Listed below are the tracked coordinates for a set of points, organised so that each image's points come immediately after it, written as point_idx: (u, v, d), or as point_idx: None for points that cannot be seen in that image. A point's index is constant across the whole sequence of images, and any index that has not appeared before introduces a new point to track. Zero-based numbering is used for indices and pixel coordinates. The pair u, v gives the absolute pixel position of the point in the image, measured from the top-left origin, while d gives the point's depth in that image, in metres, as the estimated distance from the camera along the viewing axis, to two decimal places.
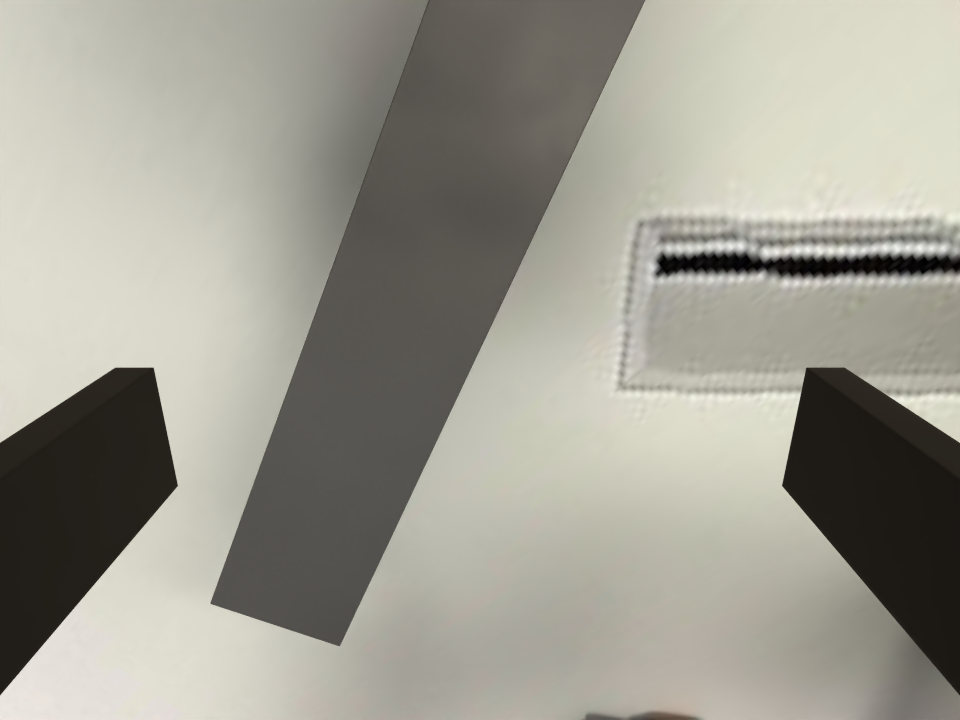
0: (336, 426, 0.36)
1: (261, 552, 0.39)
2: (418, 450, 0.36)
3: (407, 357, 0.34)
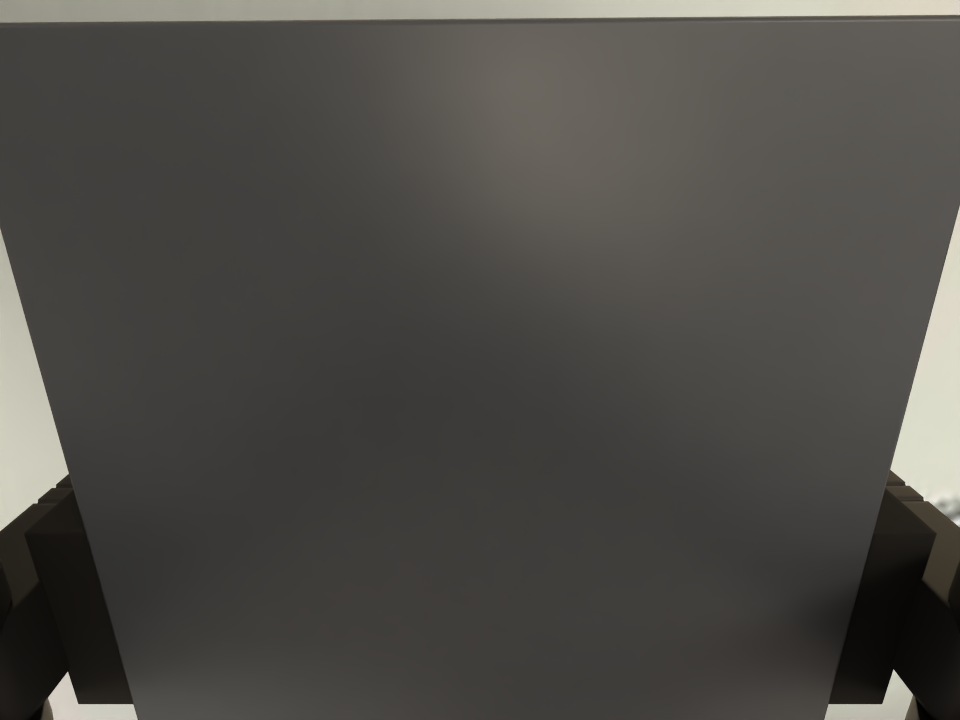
0: None
1: None
2: None
3: None
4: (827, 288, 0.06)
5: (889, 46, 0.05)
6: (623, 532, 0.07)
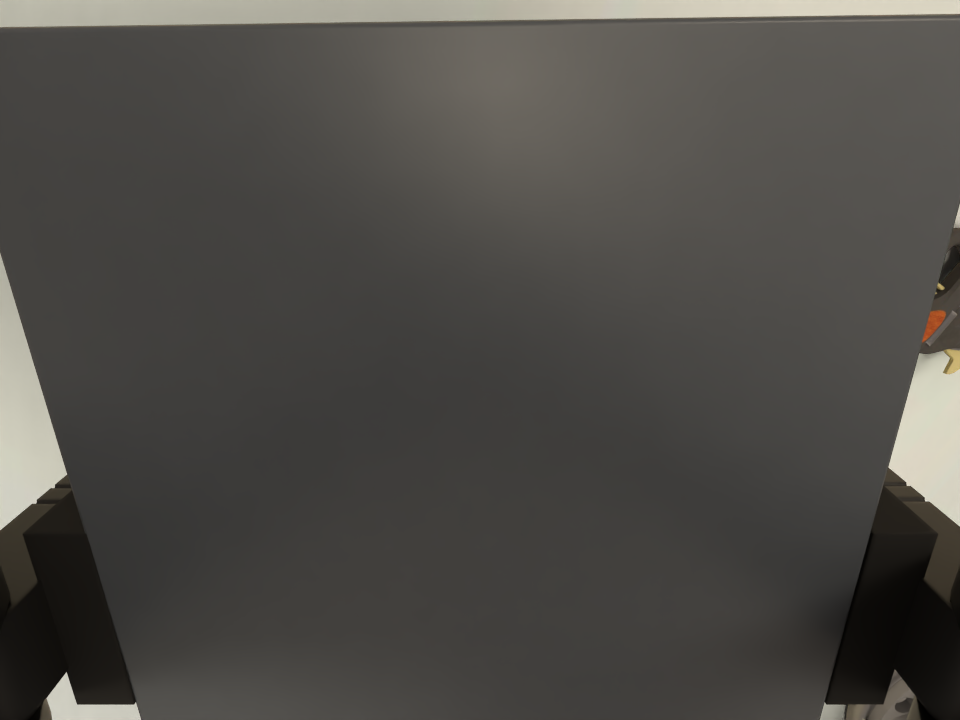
0: None
1: None
2: None
3: None
4: (825, 291, 0.06)
5: (888, 46, 0.05)
6: (620, 533, 0.07)
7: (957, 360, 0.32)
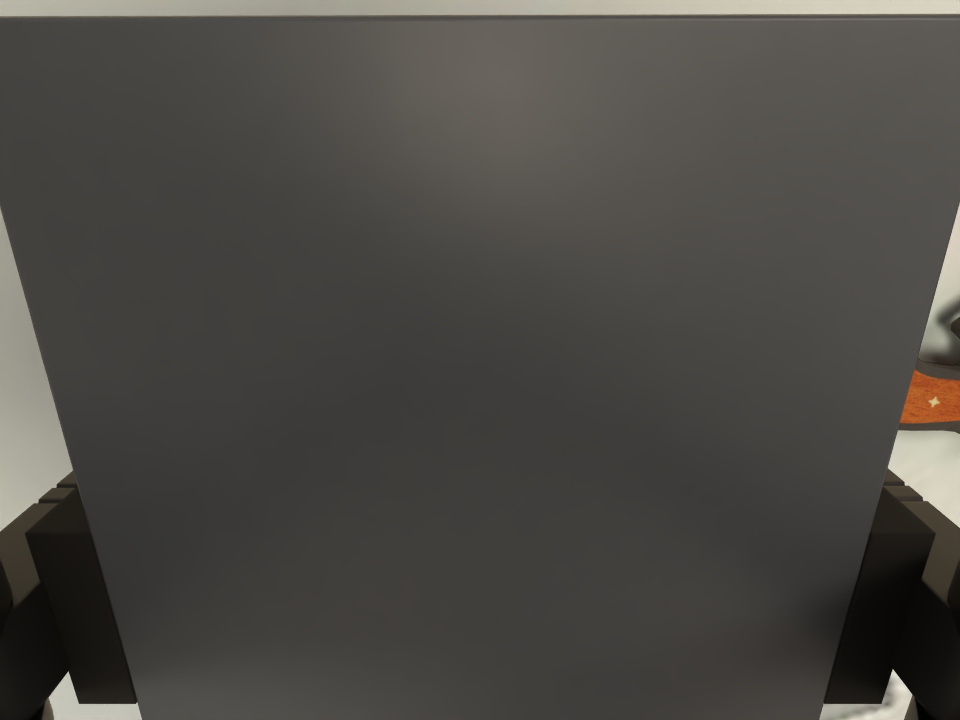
0: None
1: None
2: None
3: None
4: (829, 284, 0.06)
5: (891, 44, 0.05)
6: (623, 526, 0.07)
7: None
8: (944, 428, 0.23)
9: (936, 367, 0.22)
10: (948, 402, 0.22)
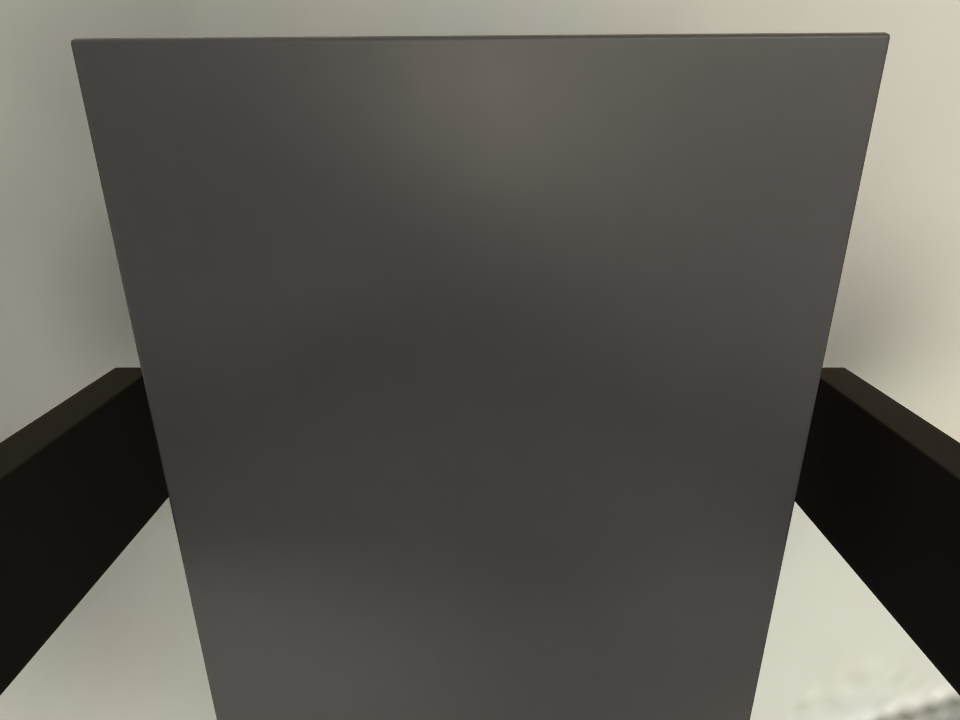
0: None
1: None
2: None
3: None
4: (759, 247, 0.07)
5: (799, 56, 0.07)
6: (599, 452, 0.08)
7: None
8: None
9: None
10: None
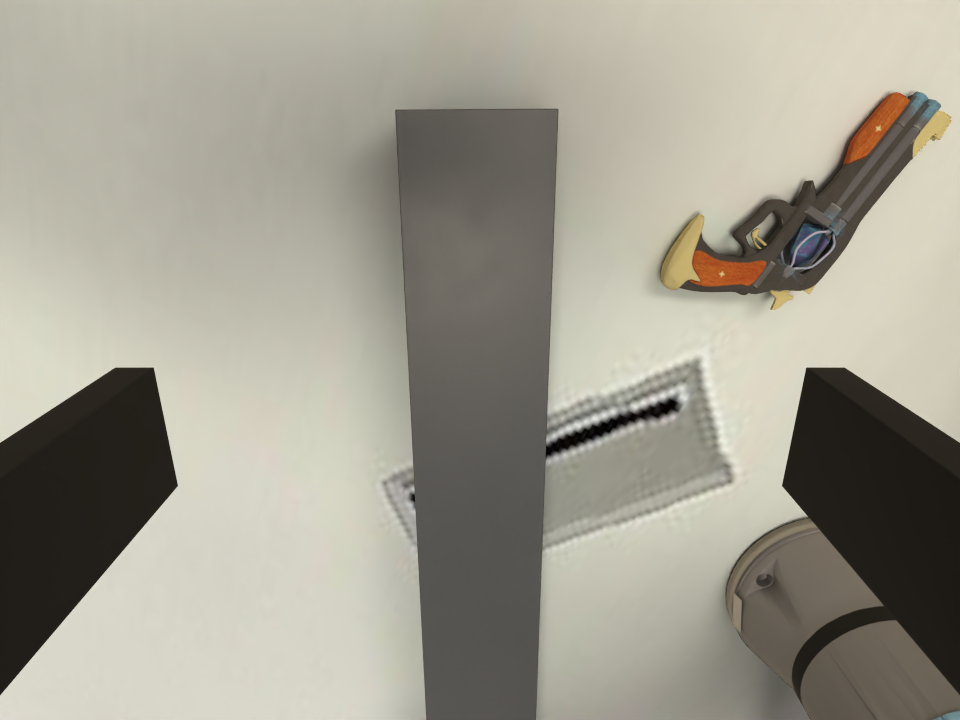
0: (466, 719, 0.50)
1: None
2: (526, 715, 0.50)
3: (493, 667, 0.48)
4: (537, 153, 0.35)
5: (540, 113, 0.34)
6: (505, 205, 0.36)
7: (779, 299, 0.43)
8: (729, 289, 0.43)
9: (723, 255, 0.42)
10: (729, 274, 0.42)
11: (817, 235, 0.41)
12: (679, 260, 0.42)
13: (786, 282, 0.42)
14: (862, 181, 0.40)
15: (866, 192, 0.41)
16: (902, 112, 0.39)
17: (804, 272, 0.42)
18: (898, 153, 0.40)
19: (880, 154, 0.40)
